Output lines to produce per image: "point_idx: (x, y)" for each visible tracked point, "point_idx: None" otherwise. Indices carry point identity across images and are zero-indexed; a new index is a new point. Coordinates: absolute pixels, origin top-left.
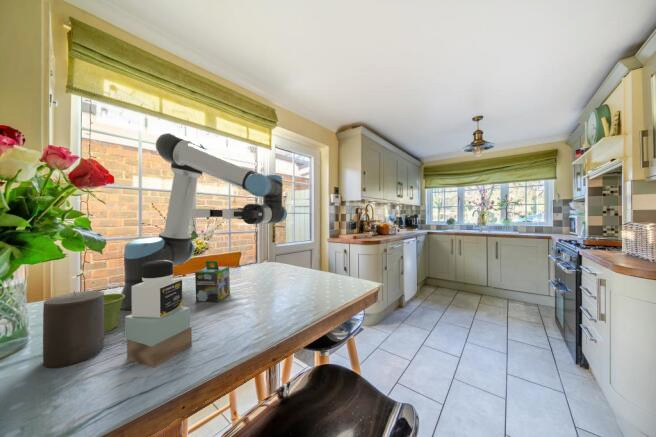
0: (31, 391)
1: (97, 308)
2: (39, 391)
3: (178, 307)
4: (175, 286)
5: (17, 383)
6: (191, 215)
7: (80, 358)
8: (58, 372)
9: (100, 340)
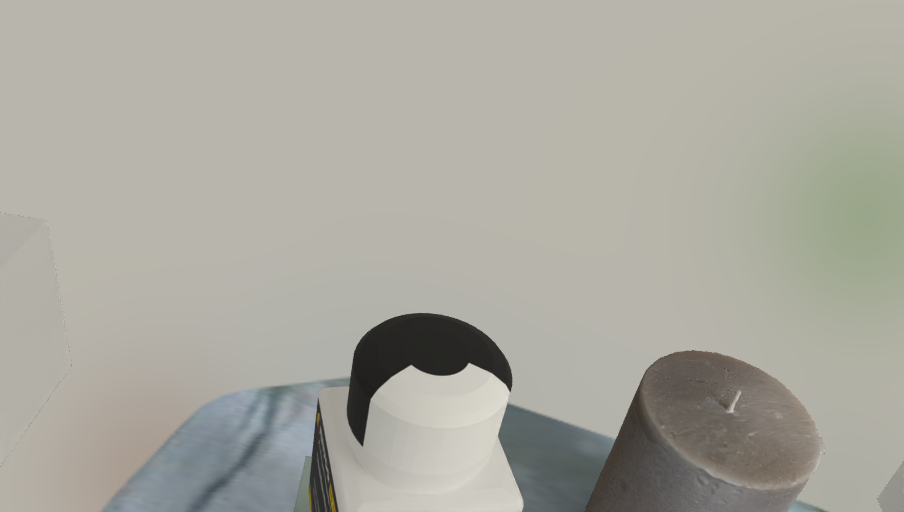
0: (523, 437)
1: (641, 467)
2: (504, 440)
3: None
4: (329, 491)
5: (600, 447)
6: (893, 478)
7: None
8: (567, 494)
9: None
